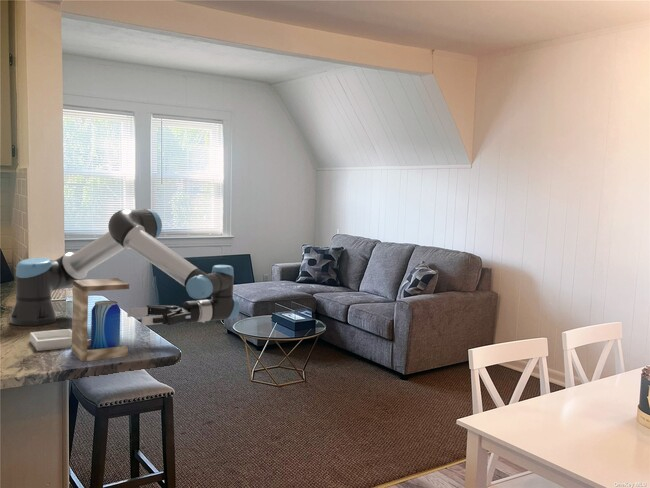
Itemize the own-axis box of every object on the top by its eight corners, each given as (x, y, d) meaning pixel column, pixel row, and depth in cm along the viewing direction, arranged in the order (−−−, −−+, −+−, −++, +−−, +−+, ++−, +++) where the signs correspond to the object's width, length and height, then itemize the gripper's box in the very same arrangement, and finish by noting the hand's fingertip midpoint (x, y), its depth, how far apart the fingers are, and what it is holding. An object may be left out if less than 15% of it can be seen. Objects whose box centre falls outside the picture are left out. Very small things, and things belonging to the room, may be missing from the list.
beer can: (97, 348, 179) (98, 299, 178) (123, 349, 179) (124, 300, 178) (85, 355, 171) (86, 304, 170) (112, 357, 171) (114, 306, 169)
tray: (30, 341, 182) (30, 332, 182) (69, 337, 190) (70, 328, 190) (37, 350, 173) (37, 341, 172) (78, 346, 180) (79, 337, 180)
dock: (81, 361, 165) (83, 286, 163) (71, 350, 175) (72, 279, 173) (127, 355, 173) (129, 284, 171) (115, 345, 183) (116, 278, 181)
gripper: (211, 329, 183) (147, 337, 170) (181, 314, 202) (122, 320, 189) (212, 307, 182) (148, 312, 169) (182, 294, 202) (122, 298, 189)
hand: (134, 316), depth 179 cm, fingers open, 13 cm apart
